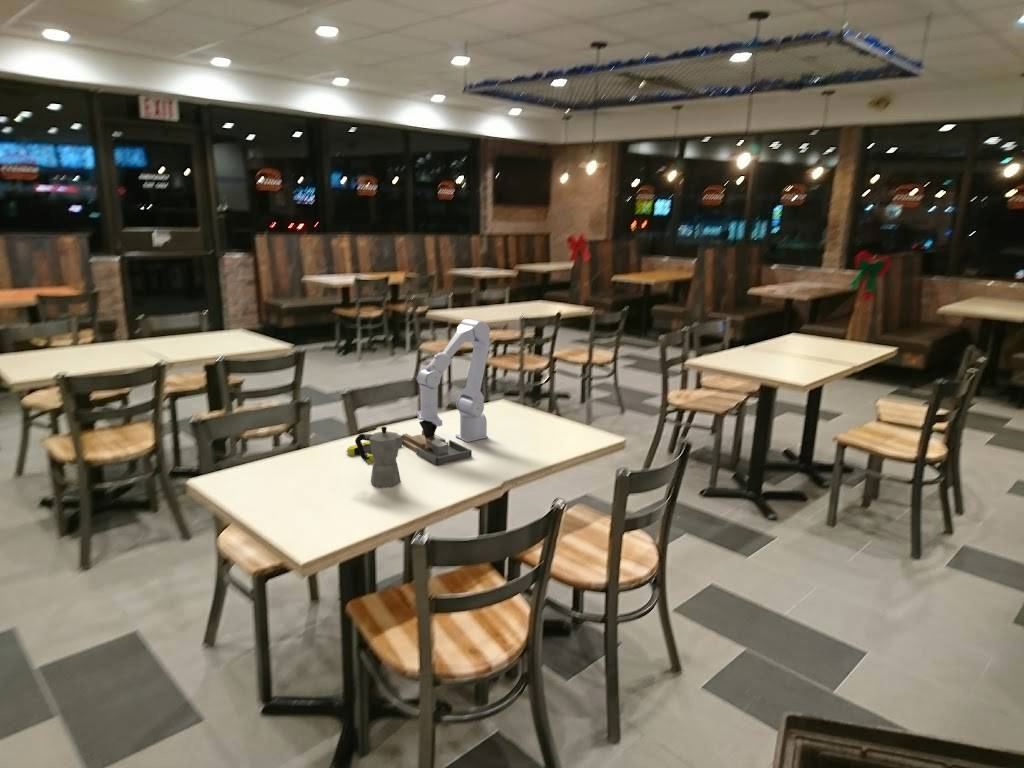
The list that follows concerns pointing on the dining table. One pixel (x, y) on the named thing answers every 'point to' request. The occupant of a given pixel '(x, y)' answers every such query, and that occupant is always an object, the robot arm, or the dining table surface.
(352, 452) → the stun gun
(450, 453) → the tray
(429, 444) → the block
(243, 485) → the dining table surface
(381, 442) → the coffeepot
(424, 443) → the slot board
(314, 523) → the dining table surface
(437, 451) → the chip front
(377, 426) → the dining table surface
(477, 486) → the dining table surface
